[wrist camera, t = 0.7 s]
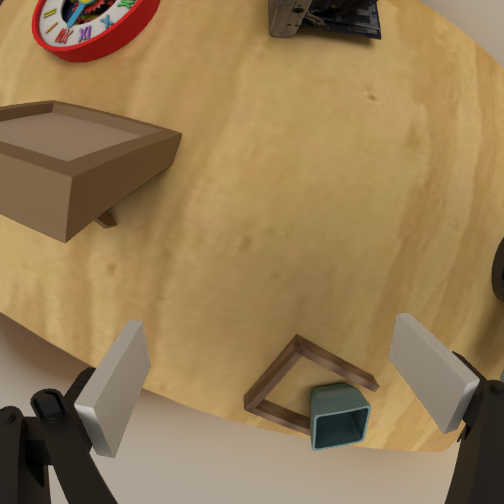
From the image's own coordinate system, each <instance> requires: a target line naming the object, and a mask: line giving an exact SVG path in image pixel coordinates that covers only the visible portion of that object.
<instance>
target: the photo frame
mask: <svg viewBox="0 0 504 504" xmlns="http://www.w3.org/2000/svg"><path fill="white" fill-rule="evenodd" d="M181 134H182V133H179V132H176V131H173V130H169V129H166V128H163V127H159V126H156V125H152V124H149V123H145V122H142V121H138V120H134V119H131V118H127V117H123V116H119V115H116V114H112V113H108V112H104V111H99V110H95V109H91V108H87V107H82V106H78V105H73V104H69V103H64V102H59V101H54V100H51V101H41V102H32V103H24V104H17V105H10V106H3V107H0V214H1V215H4V216H6V217H8V218H10V219H12V220H14V221H16V222H18V223H21V224H23V225H25V226H27V227H29V228H32V229H34V230H36V231H38V232H40V233H43V234H45V235H47V236H49V237H52V238H54V239H56V240H59V241H61V242H63V243H66V242H68V241H69V240H70V239H71V238H72V237H74V236H75V235H76V234H77V233H79V232H80V231H81V230H82V229H84V228H85V227H86V226H87V225H89V224H90V223H91V222H92V221H95V222H97V223H98V224H99V225H101V226H102V227H103V228H105V229H106V228H111V227H115V226H116V225H117V224H116V223H115V222H114V220H113V219H112V218H111V216H110V215H109V214H108V212H107V210H108V209H109V208H111V207H112V206H113V205H115V204H116V203H117V202H119V201H120V200H121V199H123V198H124V197H125V196H127V195H128V194H130V193H131V192H132V191H134V190H135V189H137V188H138V187H139V186H141V185H142V184H144V183H145V182H147V181H148V180H150V179H151V178H152V177H154V176H155V175H157V174H158V173H160V172H161V171H163V170H164V169H166V168H167V167H169V166H170V165H172V163H173V160H174V157H175V153H176V150H177V147H178V144H179V141H180V137H181Z"/></svg>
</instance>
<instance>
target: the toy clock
mask: <svg viewBox="0 0 504 504" xmlns="http://www.w3.org/2000/svg"><path fill="white" fill-rule="evenodd" d="M159 3H160V0H39V1H38V3H37V5H36V8H35V11H34V14H33V18H32V33H33V36H34V39H35V40H36V41H37V43H38V44H39V45H40V46H42V47H43V48H45V49H46V50H48V51H50V52H52V53H53V54H55V55H57V56H59V57H60V58H62V59H65V60H67V61H71V62H87V61H92V60H96V59H99V58H102V57H105V56H107V55H109V54H111V53H113V52H115V51H117V50H118V49H120V48H121V47H123V46H125V45H126V44H127V43H129V42H130V41H131V40H132V39H134V38H135V37H136V36H137V35H138V34H139V33H140V32H141V31H142V30H143V29H144V28H145V27H146V26H147V24H148V23H149V22H150V20H151V19H152V17H153V16H154V14H155V12H156V11H157V8H158V6H159Z"/></svg>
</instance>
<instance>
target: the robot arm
mask: <svg viewBox="0 0 504 504" xmlns="http://www.w3.org/2000/svg"><path fill="white" fill-rule="evenodd" d="M492 284H493V289H494V292H495V294H496V296H497V297H498V298H499V299H501V300H503V301H504V239H503V240H502V242H501V244H500V246H499V248H498V250H497V253H496V256H495V260H494V264H493V270H492ZM388 358H389V359H390V360H391V362H392V363H393V364H394V366H395V367H396V368H397V370H398V371H399V372H400V374H401V375H402V376H403V378H404V379H405V381H406V382H407V383H408V385H409V386H410V387H411V389H412V390H413V391H414V393H415V394H416V396H417V397H418V398H419V400H420V401H421V402H422V404H423V405H424V407H425V408H426V409H427V411H428V412H429V414H430V415H431V416H432V418H433V419H434V421H435V422H436V424H437V425H438V426H439V428H440V429H441V431H442V432H443V434H445V433H448V432H451V431H454V430H456V429H457V428H458V426H459V424H460V422H461V420H462V419H463V421H464V422H465V423H466V425H465V427H464V429H463V430H462V432H461V434H460V436H459V438H458V440H457V442H459V441H460V439H461V443H460V448H459V452H458V457H457V462H456V466H455V470H454V474H453V477H452V481H451V484H450V488H449V491H448V495H447V498H446V501H445V504H504V370H503V372H502V374H501V377H500V381H499V380H489V381H488V380H487V379H486V378H485V377H484V376H483V375H481V374H480V373H479V372H478V371H477V370H476V369H475V368H474V367H472V365H471V364H470V363H469V362H468V361H467V360H466V359H465V358H464V357H463V356H461V355H459V354H458V353H456V352H454V351H452V352H451V351H450V350H449V349H448V348H447V347H446V346H445V345H444V344H443V343H442V342H440V341H439V340H438V339H437V338H436V337H435V336H434V335H433V334H432V333H431V332H430V331H429V330H427V329H426V328H425V327H424V326H423V325H422V324H421V323H420V322H419V321H418V320H416V319H415V318H414V317H413V316H412V315H411V314H410V313H401V314H397V318H396V323H395V328H394V333H393V338H392V342H391V347H390V351H389V355H388ZM150 367H151V365H150V360H149V354H148V349H147V343H146V337H145V331H144V324H143V321H132V320H129V321H128V322H127V324H126V325H125V327H124V328H123V330H122V331H121V333H120V334H119V336H118V337H117V338H116V340H115V341H114V343H113V344H112V346H111V347H110V349H109V350H108V352H107V353H106V355H105V356H104V358H103V359H102V361H101V362H100V364H99V365H98V367H97V368H90V367H88V368H87V369H85V370H84V371H82V372H81V373H80V374H79V375H78V377H77V378H76V380H75V382H74V383H73V384H72V385H71V387H70V388H69V390H68V391H67V393H66V394H65V396H64V397H63V395H62V394H61V392H60V391H58V390H56V389H43V390H41V391H38V392H37V393H35V394H34V395H33V397H32V398H31V402H30V403H31V406H32V408H33V410H34V412H35V414H36V416H37V417H24V416H23V414H22V412H21V411H20V409H19V408H17V407H15V406H7V407H4V408H2V409H0V504H51V498H50V487H49V473H48V465H53V467H54V470H55V472H56V475H57V477H58V480H59V482H60V485H61V487H62V490H63V492H64V494H65V497H66V499H67V501H68V503H69V504H118V503H117V501H116V500H115V498H114V497H113V495H112V493H111V491H110V490H109V489H108V486H107V485H106V483H105V481H104V480H103V478H102V476H101V474H100V472H99V471H98V469H97V467H96V466H95V463H94V461H93V459H92V458H91V456H90V454H89V452H90V450H91V448H92V446H93V448H94V450H95V452H96V454H97V455H101V456H106V457H111V458H115V456H116V453H117V450H118V448H119V445H120V442H121V440H122V437H123V434H124V432H125V429H126V427H127V424H128V421H129V419H130V416H131V414H132V411H133V409H134V406H135V404H136V401H137V399H138V396H139V394H140V391H141V389H142V386H143V384H144V381H145V379H146V376H147V374H148V372H149V369H150Z"/></svg>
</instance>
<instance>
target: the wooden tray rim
mask: <svg viewBox="0 0 504 504" xmlns="http://www.w3.org/2000/svg"><path fill="white" fill-rule="evenodd" d="M301 356H304V357H306V358H308V359H310V360H311V361H313V362H315V363H317V364H319V365H321V366H323V367H325V368H327V369H329V370H331V371H333V372H335V373H337V374H339V375H341V376H343V377H345V378H347V379H349V380H351V381H353V382H355V383H357V384H359V385H361V386H363V387H365V388H367V389H369V390H372V391H374V392H375V391H376V390H377V389H378V388H379V385H378V383H377V382H376V380H375V379H374V377H373V375H371V374H369V373H367V372H365V371H363V370H361V369H359V368H357V367H356V366H354V365H352V364H350V363H348V362H346V361H344V360H343V359H341V358H339V357H337V356H335V355H333V354H332V353H330V352H328V351H326V350H324V349H322V348H321V347H319V346H317V345H315V344H313V343H312V342H310V341H308V340H306V339H304V338H303V337H301V336H299V335H297V334H296V336H295V337H294V338H293V339H292V340H291V342H290V343H289V344H288V345H287V347H286V348H285V349H284V350H283V351H282V353H281V354H280V355H279V356H278V357H277V359H276V360H275V361H274V362H273V363H272V365H271V366H270V367H269V368H268V369H267V370H266V372H265V373H264V374H263V375H262V376H261V377H260V378H259V380H258V381H257V382H256V383H255V384H254V385H253V386H252V388H251V389H250V390H249V391H248V392H247V393H246V394H245V395H244V410H246V411H248V412H251V413H253V414H255V415H258V416H260V417H263V418H265V419H267V420H270V421H272V422H275V423H277V424H280V425H282V426H285V427H288V428H290V429H293V430H296V431H298V432H301V433H304V434H307V435H310V436H311V432H310V422H311V419H310V418H308V417H305V416H303V415H300V414H298V413H295V412H293V411H290V410H288V409H286V408H283V407H281V406H279V405H276V404H274V403H272V402H269V401H267V400H265V399H264V398H265V397H266V396H267V395H268V393H269V392H270V391H271V390H272V389H273V388H274V387H275V386H276V385H277V384H278V383H279V381H280V380H281V379H282V378H283V377H284V376H285V375H286V374H287V372H288V371H289V370H290V369H291V368H292V367H293V366H294V364H295V363H296V362H297V361H298V360H299V359H300V357H301Z"/></svg>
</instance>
